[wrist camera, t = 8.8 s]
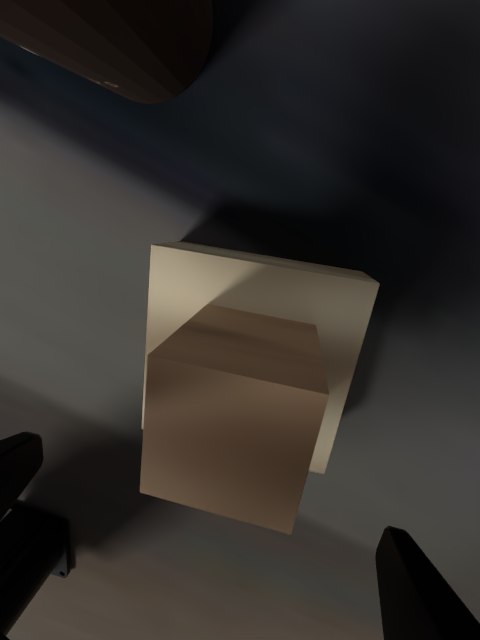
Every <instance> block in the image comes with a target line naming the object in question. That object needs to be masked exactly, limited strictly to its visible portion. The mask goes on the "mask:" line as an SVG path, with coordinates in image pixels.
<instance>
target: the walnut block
mask: <svg viewBox="0 0 480 640" xmlns="http://www.w3.org/2000/svg"><path fill="white" fill-rule="evenodd" d="M328 398H329V391H328V386H327V380H326V375H325V370H324V365H323V359H322V354H321V349H320V343H319V338H318V333H317V328H316V325H313V324H308V323H303V322H298V321H293V320H287V319H282V318H277V317H272V316H267V315H262V314H257V313H251V312H246V311H241V310H236V309H231V308H226V307H220V306H215V305H210V304H207V305H205V306H204V307H203V308H202V309H201V310H200V311H198V312H197V313H196V314H195V315H194V316H193V317H191V318H190V319H189V320H188V321H187V322H186V323H184V324H183V325H182V326H181V327H180V328H179V329H177V330H176V331H175V332H174V333H173V334H172V335H170V336H169V337H168V338H167V339H166V340H165V341H163V342H162V343H161V344H160V345H159V346H158V347H156V348H155V349H154V350H153V351H152V352H151V353H149V354H148V358H147V375H146V392H145V409H144V426H143V443H142V460H141V477H140V493H143V494H147V495H151V496H154V497H158V498H161V499H165V500H168V501H172V502H176V503H179V504H183V505H186V506H190V507H193V508H197V509H200V510H204V511H208V512H211V513H215V514H218V515H222V516H225V517H229V518H233V519H236V520H240V521H243V522H247V523H250V524H254V525H257V526H261V527H265V528H268V529H272V530H275V531H279V532H282V533H286V534H290V535H291V533H292V529H293V525H294V522H295V518H296V514H297V511H298V507H299V503H300V500H301V496H302V493H303V489H304V485H305V482H306V478H307V474H308V471H309V467H310V463H311V460H312V456H313V453H314V449H315V445H316V442H317V438H318V434H319V431H320V427H321V423H322V420H323V416H324V413H325V409H326V405H327V402H328Z"/></svg>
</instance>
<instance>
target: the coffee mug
mask: <svg viewBox="0 0 480 640" xmlns="http://www.w3.org/2000/svg"><path fill="white" fill-rule="evenodd" d="M212 32H213V9H212V0H0V37H2V38H4V39H6V40H8V41H10V42H12V43H14V44H16V45H18V46H20V47H22V48H24V49H26V50H28V51H30V52H33V53H35V54H37V55H39V56H41V57H43V58H45V59H47V60H49V61H51V62H53V63H55V64H57V65H59V66H61V67H63V68H66V69H68V70H70V71H72V72H74V73H76V74H78V75H80V76H82V77H84V78H86V79H88V80H90V81H92V82H94V83H96V84H99V85H101V86H103V87H105V88H107V89H109V90H111V91H113V92H115V93H117V94H119V95H121V96H123V97H125V98H127V99H129V100H133V101H136V102H139V103H146V104H155V103H161V102H165V101H167V100H170V99H172V98H174V97H176V96H177V95H179V94H180V93H181V92H183V91H184V90H186V89H187V87H188V86H189V85H190V84H191V83H192V82H193V81H194V80H195V78H196V77H197V75H198V73H199V72H200V70H201V69H202V67H203V65H204V62H205V60H206V57H207V55H208V52H209V48H210V44H211V39H212Z"/></svg>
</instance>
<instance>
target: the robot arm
mask: <svg viewBox="0 0 480 640" xmlns="http://www.w3.org/2000/svg"><path fill="white" fill-rule="evenodd" d="M42 463H43V446H42V438H41V436H40V435H39V434H35V433H32V432H22V433H19V434H16V435H13V436H11V437H8V438H5V439H3V440H0V640H10V639H8V638H7V637H6V635H7V634H8V632H9V631H10V630H11V628H12V627H13V625H14V624H15V623H16V621H17V620H18V618H19V617H20V616H21V614H22V613H23V611H24V610H25V609H26V607H27V606H28V604H29V603H30V602H31V600H32V599H33V597H34V596H35V595H36V593H37V592H38V590H39V589H40V587H41V586H42V585H43V583H44V582H45V580H46V579H47V578H48V576H49V575H50V574H53V575H56V576H59V577H62V578H66V577H67V576H68V574H69V573H70V552H69V533H68V523H67V522H66V521H65V520H63V519H60V518H57V517H54V516H50V515H47V514H44V513H40V512H37V511H33V510H30V509H27V508H23V507H20V506H16V505H13V504H14V502H15V501H16V500H17V498H18V497H19V496H20V494H21V493H22V492H23V490H24V489H25V488H26V486H27V485H28V484H29V482H30V481H31V480H32V478H33V477H34V476H35V474H36V473H37V471H38V470H39V469H40V467H41V465H42ZM376 569H377V579H378V588H379V597H380V607H381V616H382V626H383V634H384V640H480V623H479V622H478V621H477V620H476V618H475V617H474V616H473V614H472V613H471V612H470V611H469V609H468V608H467V607H466V606H465V604H464V603H463V602H462V601H461V599H460V598H459V597H458V595H457V594H456V593H455V592H454V590H453V589H452V588H451V587H450V585H449V584H448V583H447V582H446V580H445V579H444V578H443V576H442V575H441V574H440V573H439V571H438V570H437V569H436V568H435V566H434V565H433V564H432V563H431V561H430V560H429V559H428V557H427V556H426V555H425V554H424V552H423V551H422V550H421V549H420V547H419V546H418V545H417V544H416V542H415V541H414V540H413V538H412V537H411V536H410V535H409V534H408V533H407V532H406V531H405V530H403V529H399V528H396V527H392V526H387V527H386V528H385V529H384V532H383V534H382V537H381V539H380V542H379V544H378V547H377V550H376Z"/></svg>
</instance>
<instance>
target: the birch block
mask: <svg viewBox="0 0 480 640" xmlns="http://www.w3.org/2000/svg"><path fill="white" fill-rule="evenodd" d="M379 285H380V283H378V282H377V281H375V280H374V279H372V278H371V277H370V276H368V275H367V274H365V273H364V272H362V271H356V270H350V269H344V268H338V267H332V266H326V265H320V264H314V263H308V262H302V261H296V260H290V259H284V258H278V257H272V256H266V255H260V254H254V253H248V252H242V251H236V250H230V249H224V248H218V247H212V246H206V245H200V244H194V243H188V242H182V241H177V242H169V243H161V244H153V245H151V259H150V278H149V297H148V316H147V335H146V354H145V373H144V392H143V411H142V429H143V426H144V409H145V392H146V375H147V358H148V354H149V353H151V352H152V351H153V350H154V349H155V348H156V347H158V346H159V345H160V344H161V343H162V342H163V341H165V340H166V339H167V338H168V337H169V336H170V335H172V334H173V333H174V332H175V331H176V330H177V329H179V328H180V327H181V326H182V325H183V324H184V323H186V322H187V321H188V320H189V319H190V318H191V317H193V316H194V315H195V314H196V313H197V312H198V311H200V310H201V309H202V308H203V307H204V306H205V305H207V304H210V305H215V306H220V307H226V308H231V309H236V310H241V311H246V312H251V313H257V314H262V315H267V316H272V317H277V318H282V319H287V320H293V321H298V322H303V323H308V324H313V325H316V328H317V333H318V338H319V343H320V349H321V354H322V359H323V365H324V370H325V375H326V380H327V386H328V391H329V398H328V402H327V405H326V409H325V413H324V416H323V420H322V423H321V427H320V431H319V434H318V438H317V442H316V445H315V449H314V453H313V456H312V460H311V463H310V467H309V471H313V472H317V473H321V474H324V473H325V470H326V466H327V463H328V459H329V456H330V452H331V449H332V446H333V442H334V439H335V435H336V432H337V428H338V425H339V422H340V418H341V415H342V411H343V408H344V405H345V401H346V398H347V394H348V391H349V387H350V384H351V381H352V377H353V374H354V370H355V367H356V364H357V360H358V357H359V353H360V350H361V346H362V343H363V340H364V336H365V333H366V329H367V326H368V323H369V319H370V316H371V312H372V309H373V305H374V302H375V299H376V295H377V292H378V288H379Z"/></svg>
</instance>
